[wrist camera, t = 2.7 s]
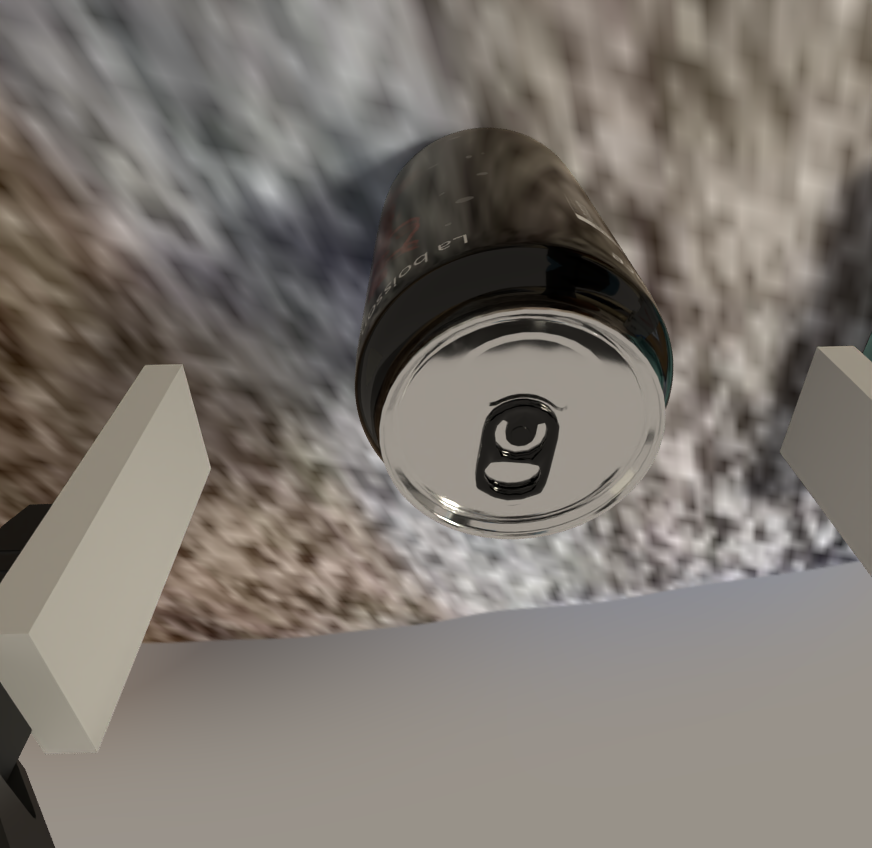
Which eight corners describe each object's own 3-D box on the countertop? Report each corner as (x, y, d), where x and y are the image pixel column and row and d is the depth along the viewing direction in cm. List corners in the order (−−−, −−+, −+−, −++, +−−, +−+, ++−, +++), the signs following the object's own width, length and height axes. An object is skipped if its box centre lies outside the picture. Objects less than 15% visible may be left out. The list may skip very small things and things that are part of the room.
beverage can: (375, 309, 24) (342, 549, 15) (385, 108, 20) (349, 255, 11) (557, 324, 25) (642, 567, 15) (602, 130, 21) (756, 292, 11)
